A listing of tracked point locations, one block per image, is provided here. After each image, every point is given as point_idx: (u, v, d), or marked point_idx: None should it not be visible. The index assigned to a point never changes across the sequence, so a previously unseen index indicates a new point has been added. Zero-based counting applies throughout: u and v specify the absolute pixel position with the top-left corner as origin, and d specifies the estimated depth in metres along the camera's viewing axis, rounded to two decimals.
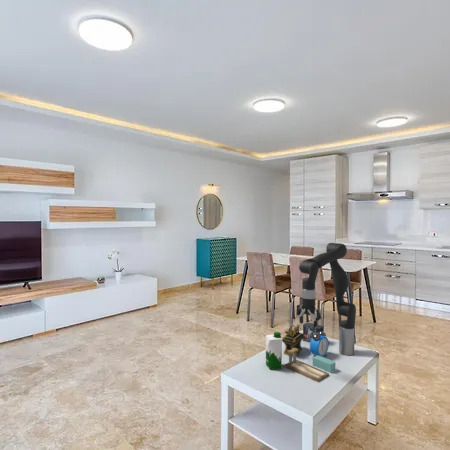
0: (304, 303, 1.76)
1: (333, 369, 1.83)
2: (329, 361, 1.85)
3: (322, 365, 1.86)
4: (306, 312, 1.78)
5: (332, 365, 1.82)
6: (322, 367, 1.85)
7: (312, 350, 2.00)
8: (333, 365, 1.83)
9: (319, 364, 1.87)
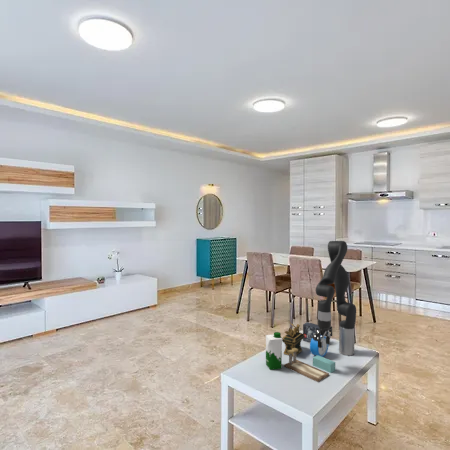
0: (329, 325, 1.84)
1: (333, 369, 1.83)
2: (329, 361, 1.85)
3: (322, 365, 1.86)
4: (325, 334, 1.86)
5: (332, 365, 1.82)
6: (322, 367, 1.85)
7: (312, 350, 2.00)
8: (333, 365, 1.83)
9: (319, 364, 1.87)
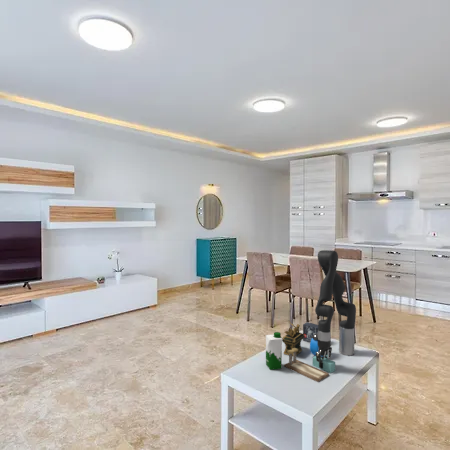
0: (329, 345, 1.84)
1: (333, 369, 1.83)
2: (329, 361, 1.85)
3: None
4: None
5: (332, 365, 1.82)
6: None
7: (312, 350, 2.00)
8: (333, 365, 1.83)
9: None
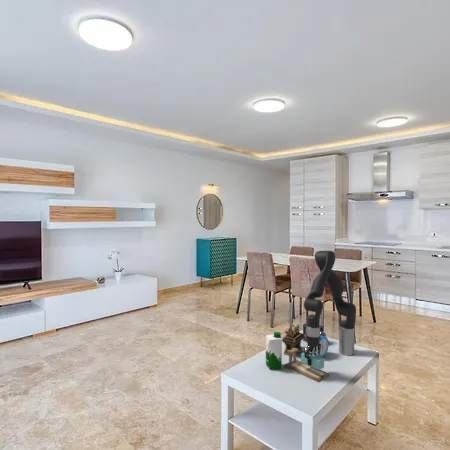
0: (318, 341, 1.77)
1: (322, 366, 1.76)
2: (318, 357, 1.78)
3: None
4: None
5: (321, 361, 1.75)
6: None
7: None
8: (322, 361, 1.76)
9: None
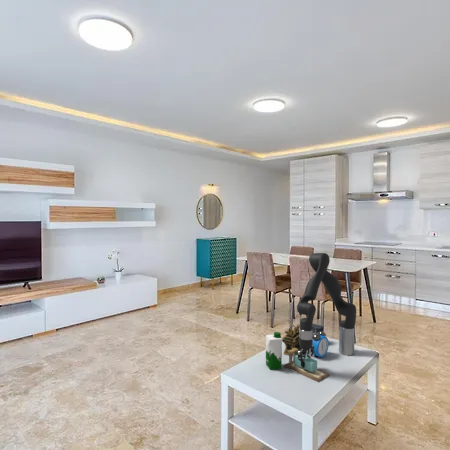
0: (311, 344, 1.80)
1: (315, 368, 1.80)
2: (311, 360, 1.81)
3: None
4: None
5: (314, 364, 1.79)
6: None
7: None
8: (315, 364, 1.79)
9: None
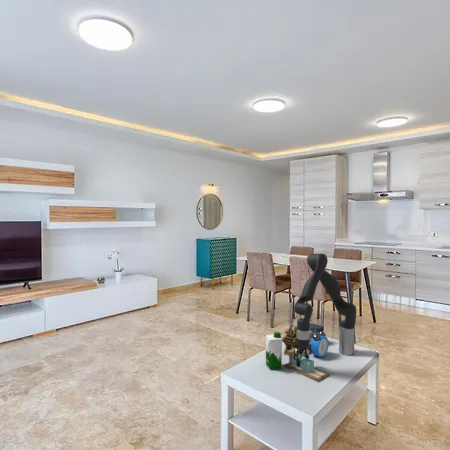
0: (307, 344, 1.82)
1: (312, 368, 1.81)
2: (308, 360, 1.83)
3: (300, 364, 1.83)
4: None
5: (310, 364, 1.80)
6: (301, 366, 1.83)
7: (312, 350, 2.00)
8: (312, 364, 1.81)
9: None
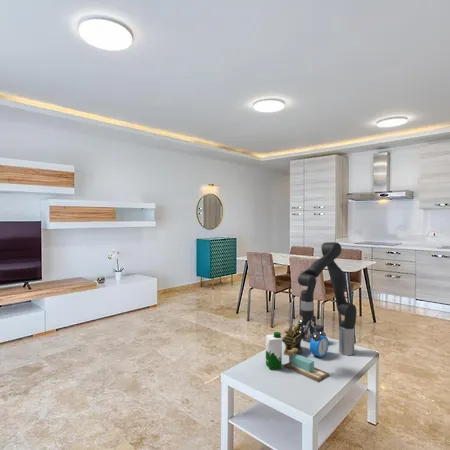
0: (312, 315, 1.83)
1: (312, 368, 1.81)
2: (308, 360, 1.83)
3: (300, 364, 1.83)
4: None
5: (310, 364, 1.80)
6: (301, 366, 1.83)
7: (312, 350, 2.00)
8: (312, 364, 1.81)
9: (298, 363, 1.84)
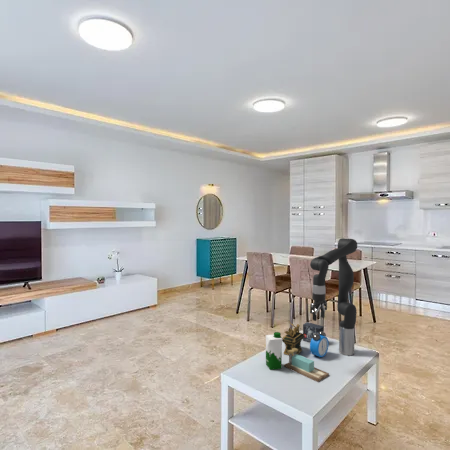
0: (324, 298, 1.86)
1: (312, 368, 1.81)
2: (308, 360, 1.83)
3: (300, 364, 1.83)
4: (319, 307, 1.88)
5: (310, 364, 1.80)
6: (301, 366, 1.83)
7: (312, 350, 2.00)
8: (312, 364, 1.81)
9: (298, 363, 1.84)
